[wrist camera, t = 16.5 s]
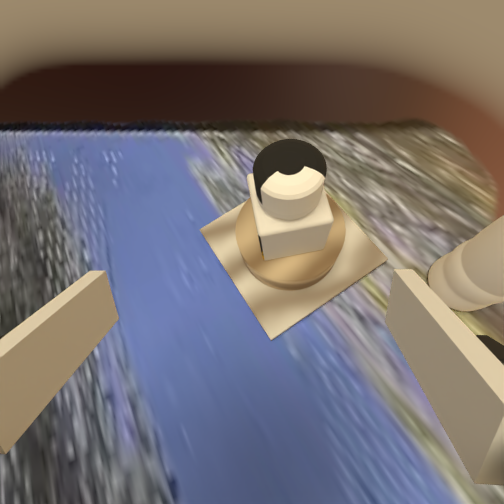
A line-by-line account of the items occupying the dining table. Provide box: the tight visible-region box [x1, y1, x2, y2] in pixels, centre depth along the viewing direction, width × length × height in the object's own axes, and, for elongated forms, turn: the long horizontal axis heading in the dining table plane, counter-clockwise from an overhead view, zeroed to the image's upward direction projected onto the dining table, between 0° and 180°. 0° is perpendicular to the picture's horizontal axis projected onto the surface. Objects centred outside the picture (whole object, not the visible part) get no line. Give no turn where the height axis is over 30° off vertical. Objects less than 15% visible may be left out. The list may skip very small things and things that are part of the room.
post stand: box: [200, 191, 388, 341], centre depth 37 cm, size 18×18×6 cm
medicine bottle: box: [247, 139, 334, 260], centre depth 28 cm, size 7×7×12 cm
